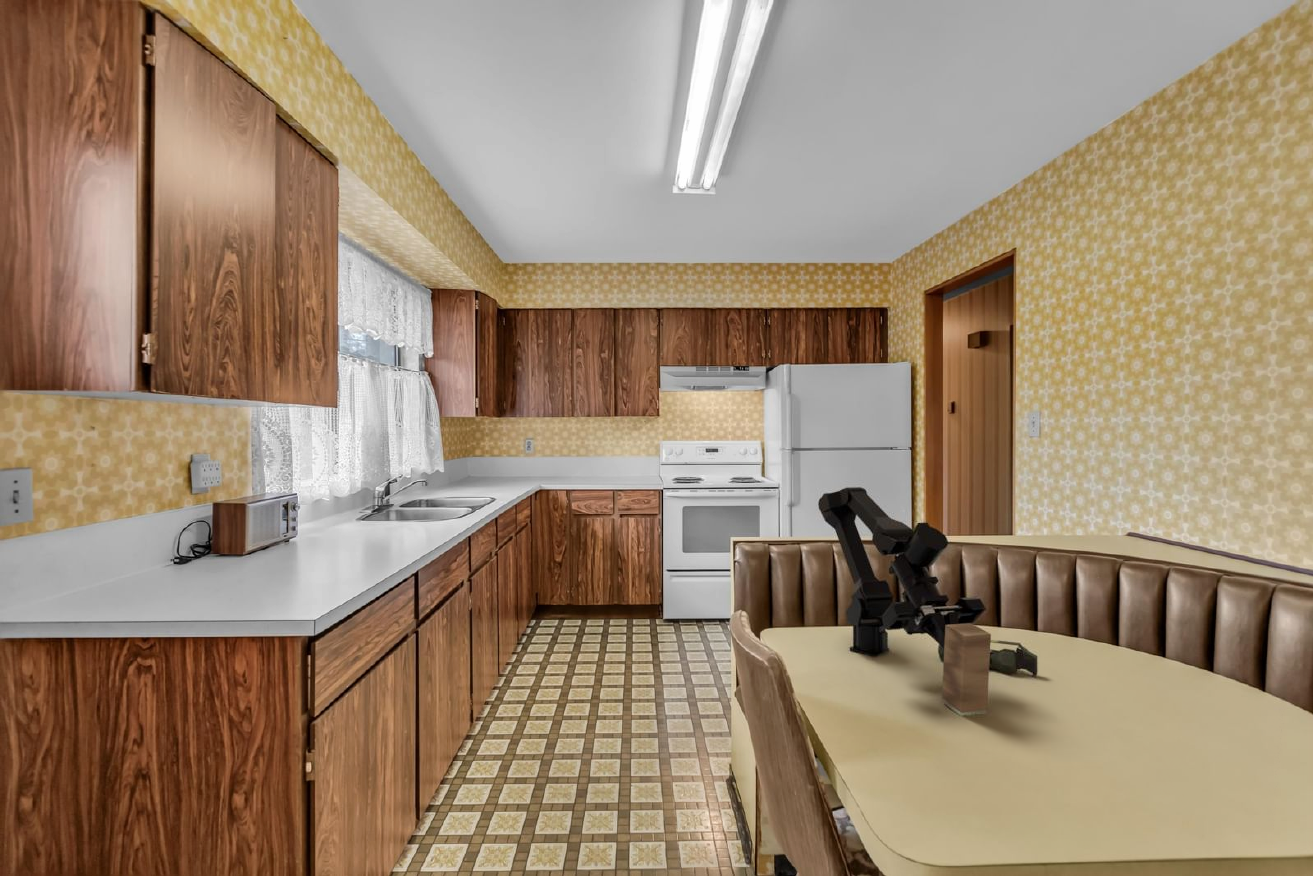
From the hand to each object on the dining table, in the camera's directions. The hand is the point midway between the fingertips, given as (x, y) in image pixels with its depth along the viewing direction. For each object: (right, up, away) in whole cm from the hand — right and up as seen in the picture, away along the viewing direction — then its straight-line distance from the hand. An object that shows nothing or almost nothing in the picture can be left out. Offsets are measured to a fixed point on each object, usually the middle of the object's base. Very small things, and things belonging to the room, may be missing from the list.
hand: (955, 656), depth 109 cm
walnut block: (0, -8, -2) cm, 9 cm away
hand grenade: (+15, -9, +18) cm, 25 cm away
